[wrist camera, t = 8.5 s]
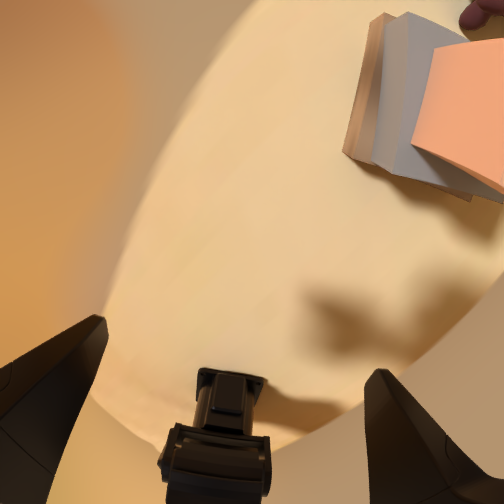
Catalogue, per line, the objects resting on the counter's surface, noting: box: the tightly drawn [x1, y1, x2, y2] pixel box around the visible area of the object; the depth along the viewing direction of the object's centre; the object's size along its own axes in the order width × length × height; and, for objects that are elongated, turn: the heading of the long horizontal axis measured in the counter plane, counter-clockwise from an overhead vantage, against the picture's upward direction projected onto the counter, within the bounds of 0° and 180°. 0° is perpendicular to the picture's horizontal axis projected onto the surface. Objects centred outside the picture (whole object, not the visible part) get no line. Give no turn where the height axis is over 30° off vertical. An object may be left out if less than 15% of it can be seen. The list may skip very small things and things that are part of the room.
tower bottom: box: [342, 12, 473, 202], centre depth 13 cm, size 9×9×3 cm
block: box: [410, 38, 504, 195], centre depth 7 cm, size 5×5×6 cm
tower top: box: [371, 12, 504, 204], centre depth 11 cm, size 8×8×3 cm
